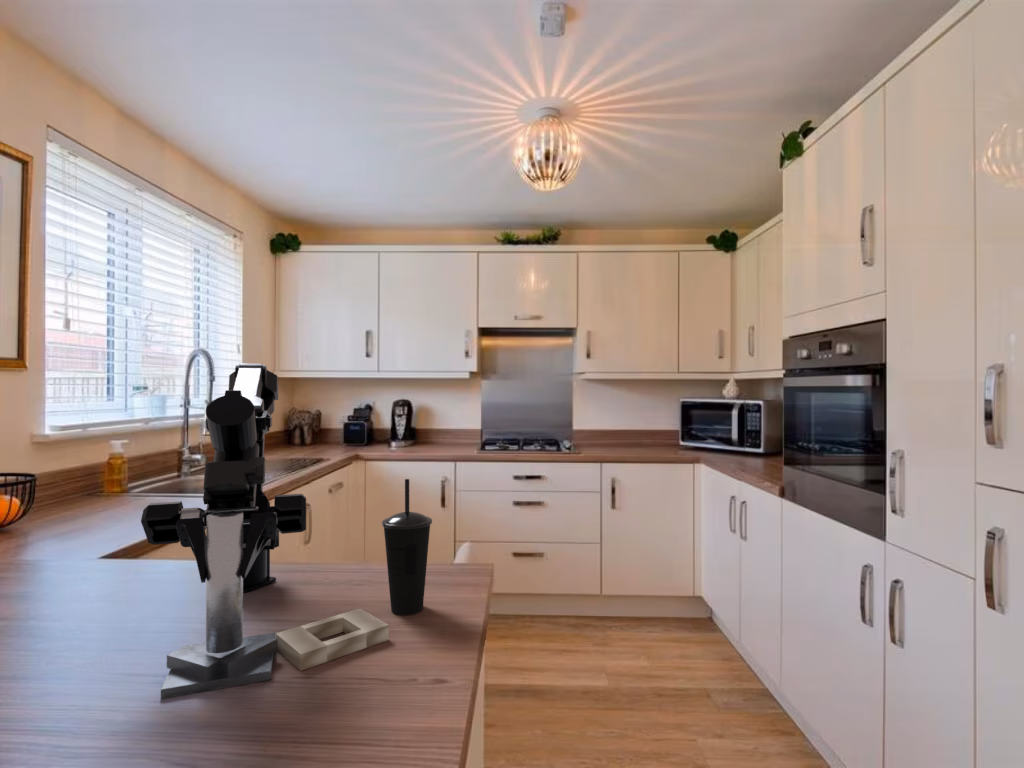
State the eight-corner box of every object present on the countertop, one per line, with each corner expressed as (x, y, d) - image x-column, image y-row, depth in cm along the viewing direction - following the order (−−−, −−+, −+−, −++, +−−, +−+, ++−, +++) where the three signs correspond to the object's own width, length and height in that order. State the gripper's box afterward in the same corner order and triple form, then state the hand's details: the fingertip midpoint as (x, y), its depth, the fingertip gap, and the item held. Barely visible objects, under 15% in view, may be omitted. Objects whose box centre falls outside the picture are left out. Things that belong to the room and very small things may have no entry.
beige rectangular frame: (300, 671, 66) (300, 654, 66) (275, 648, 71) (275, 633, 71) (388, 639, 74) (388, 624, 74) (359, 622, 80) (359, 608, 80)
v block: (177, 654, 70) (177, 635, 70) (279, 639, 74) (279, 621, 74) (155, 699, 60) (155, 676, 60) (275, 678, 64) (275, 657, 64)
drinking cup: (441, 604, 86) (441, 477, 87) (413, 622, 79) (413, 484, 80) (401, 596, 90) (401, 474, 90) (371, 613, 83) (371, 481, 83)
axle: (237, 635, 70) (237, 509, 70) (247, 645, 67) (247, 514, 67) (202, 644, 67) (202, 514, 67) (210, 656, 64) (211, 520, 64)
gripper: (145, 438, 68) (116, 552, 57) (306, 434, 74) (306, 535, 64) (161, 491, 75) (137, 601, 65) (306, 483, 82) (305, 581, 71)
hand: (223, 578), depth 66 cm, fingers closed on axle, 4 cm apart
